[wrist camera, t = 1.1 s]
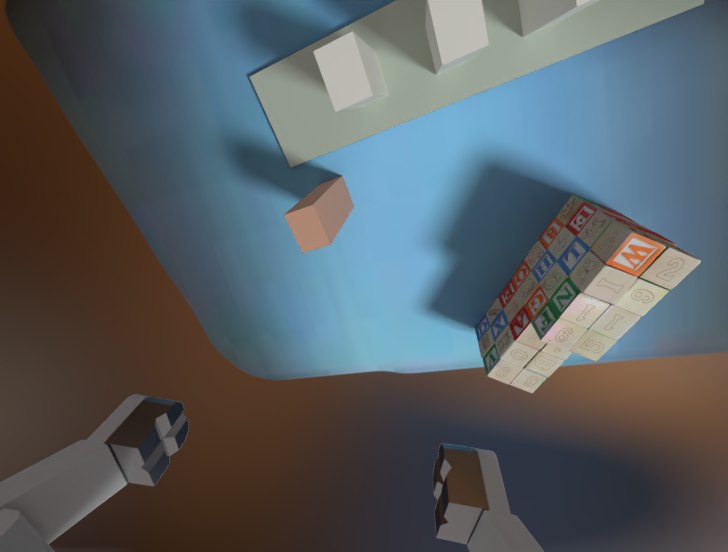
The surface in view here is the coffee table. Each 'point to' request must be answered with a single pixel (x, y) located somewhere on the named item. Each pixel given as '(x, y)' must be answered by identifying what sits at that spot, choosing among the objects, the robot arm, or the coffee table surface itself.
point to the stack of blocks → (577, 293)
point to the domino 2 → (320, 214)
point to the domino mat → (430, 67)
